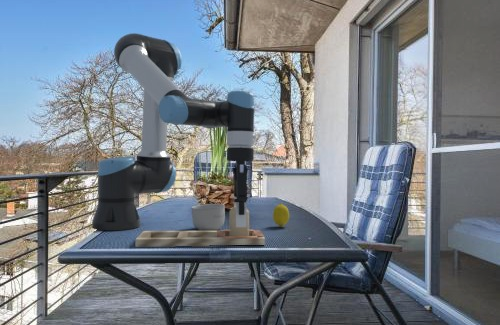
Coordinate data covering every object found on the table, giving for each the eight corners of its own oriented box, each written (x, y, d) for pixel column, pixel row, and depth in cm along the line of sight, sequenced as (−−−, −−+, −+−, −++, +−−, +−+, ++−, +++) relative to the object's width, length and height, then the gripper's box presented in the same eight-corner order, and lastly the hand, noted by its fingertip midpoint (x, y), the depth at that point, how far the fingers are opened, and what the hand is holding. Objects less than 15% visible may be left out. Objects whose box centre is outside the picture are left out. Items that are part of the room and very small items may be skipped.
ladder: (135, 246, 106) (135, 238, 106) (143, 237, 118) (143, 229, 118) (265, 245, 109) (265, 237, 109) (260, 237, 121) (260, 229, 121)
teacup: (219, 233, 126) (219, 207, 126) (186, 232, 128) (186, 206, 128) (230, 226, 140) (230, 203, 140) (200, 224, 142) (200, 202, 142)
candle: (251, 240, 116) (251, 205, 116) (245, 244, 111) (245, 207, 111) (233, 239, 118) (233, 204, 118) (226, 242, 113) (226, 206, 113)
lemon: (291, 226, 140) (292, 203, 140) (284, 229, 135) (284, 205, 135) (277, 225, 143) (277, 202, 143) (269, 227, 138) (270, 203, 138)
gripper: (258, 146, 102) (257, 230, 102) (249, 148, 127) (249, 216, 127) (228, 145, 101) (227, 230, 102) (225, 148, 126) (225, 216, 127)
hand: (239, 222), depth 114 cm, fingers open, 13 cm apart
